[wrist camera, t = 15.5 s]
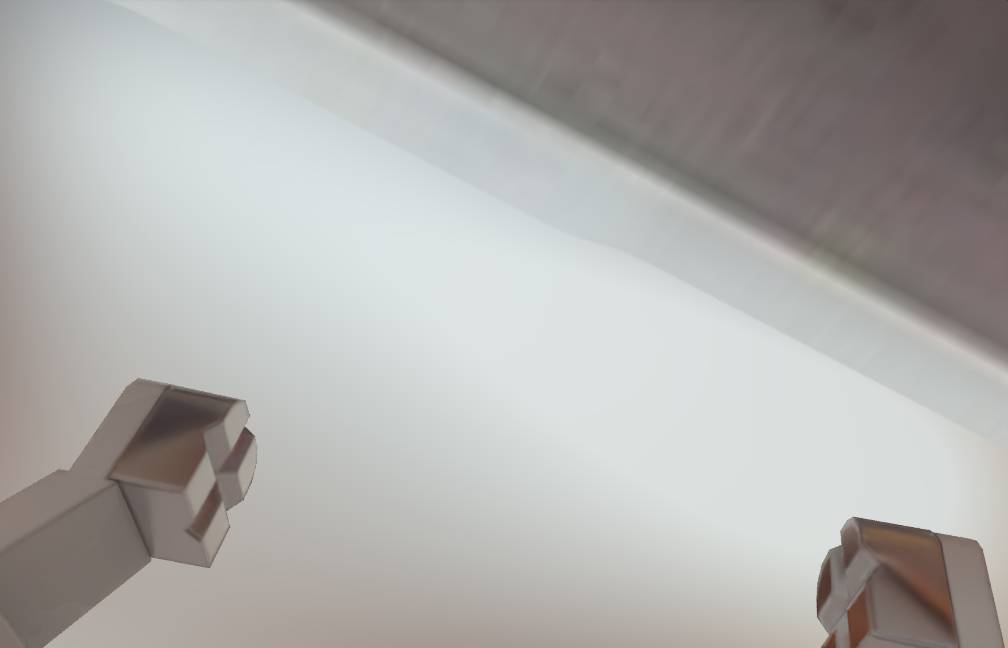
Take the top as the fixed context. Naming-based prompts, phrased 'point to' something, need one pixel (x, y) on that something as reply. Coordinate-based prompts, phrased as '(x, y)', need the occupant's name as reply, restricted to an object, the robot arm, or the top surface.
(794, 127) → the top surface
